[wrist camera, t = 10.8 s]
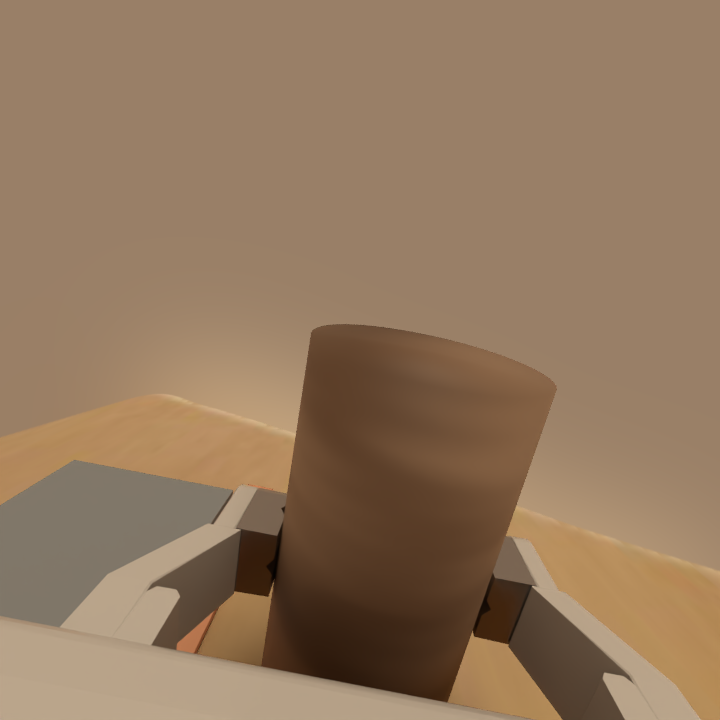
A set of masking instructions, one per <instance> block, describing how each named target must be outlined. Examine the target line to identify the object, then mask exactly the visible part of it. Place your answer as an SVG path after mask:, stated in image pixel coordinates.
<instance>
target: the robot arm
mask: <svg viewBox="0 0 720 720" xmlns="http://www.w3.org/2000/svg"><path fill="white" fill-rule="evenodd" d="M286 498H287V494H286V493H281V492H277V491H272V490H267V489H263V488H257V487H252V486H248V485H243V484H242V485H240V486H239V487H238V488H237V489H236V491H235V492H234V494H233V495H232V497H231V498H230V500H229V501H228V503H227V505H226V506H225V508H224V509H223V511H222V512H221V514H220V515H219V517H218V518H217V520H216V521H215V523H214V524H209V523H208V524H206V525H204V526H202V527H200V528H198V529H196V530H194V531H192V532H190V533H188V534H186V535H184V536H182V537H180V538H178V539H176V540H174V541H172V542H170V543H168V544H166V545H164V546H162V547H160V548H158V549H156V550H154V551H152V552H150V553H148V554H146V555H144V556H142V557H140V558H139V559H137V560H135V561H133V562H131V563H129V564H127V565H125V566H123V567H121V568H119V569H117V570H115V571H113V572H111V573H109V574H107V575H106V576H105V578H104V579H103V580H102V581H101V582H100V583H99V584H98V585H97V586H96V587H95V589H94V590H93V591H92V592H91V593H90V594H89V595H88V596H87V597H86V598H85V600H84V601H83V602H82V603H81V604H80V605H79V606H78V607H77V608H76V610H75V611H74V612H73V613H72V614H71V615H70V616H69V617H68V618H67V619H66V621H65V622H64V623H63V624H62V625H61V626H60V627H55V626H50V625H45V624H40V623H35V622H30V621H24V620H19V619H14V618H9V617H4V616H0V720H535V719H530V718H525V717H519V716H514V715H509V714H504V713H499V712H494V711H489V710H483V709H478V708H473V707H468V706H463V705H458V704H452V703H447V702H442V701H437V700H432V699H427V698H422V697H416V696H411V695H406V694H401V693H396V692H391V691H385V690H380V689H375V688H370V687H365V686H360V685H355V684H349V683H344V682H339V681H334V680H329V679H324V678H318V677H313V676H308V675H303V674H298V673H293V672H287V671H282V670H277V669H272V668H267V667H262V666H257V665H251V664H246V663H241V662H236V661H231V660H226V659H220V658H215V657H210V656H205V655H200V654H195V653H189V652H184V651H179V650H177V643H178V642H179V641H180V640H182V639H183V638H184V637H185V636H186V635H187V634H188V633H190V632H191V631H192V630H193V629H194V628H195V627H196V626H197V625H199V624H200V623H201V622H202V621H203V620H204V619H205V618H207V617H208V616H209V615H210V614H211V613H212V612H213V611H215V610H216V609H217V608H218V607H219V606H220V605H221V604H223V603H224V602H225V601H226V600H227V599H228V598H229V597H230V596H232V595H233V594H234V591H235V592H242V593H248V594H254V595H260V596H267V597H268V596H269V593H270V590H271V587H272V584H273V582H274V579H275V573H276V566H277V559H278V552H279V545H280V539H281V533H282V526H283V518H284V512H285V505H286ZM473 634H474V637H478V638H482V639H487V640H491V641H496V642H500V643H505V644H509V646H508V647H509V648H510V649H511V651H512V652H513V653H514V655H515V656H516V657H517V659H518V660H519V661H520V663H521V664H522V665H523V667H524V668H525V669H526V671H527V672H528V673H529V675H530V676H531V677H532V679H533V680H534V681H535V683H536V684H537V685H538V687H539V688H540V690H541V691H542V692H543V694H544V695H545V696H546V698H547V699H548V700H549V702H550V703H551V704H552V706H553V707H554V708H555V710H556V711H557V712H558V714H559V715H560V716H561V718H562V719H563V720H701V719H700V718H699V717H698V715H697V714H696V712H695V711H694V710H693V708H692V707H691V706H690V704H689V703H688V701H687V700H686V699H685V697H684V696H683V695H682V693H681V692H680V690H679V689H678V688H677V686H676V685H675V684H674V683H673V682H671V681H670V680H669V679H668V678H667V677H666V676H664V675H663V674H662V673H661V672H660V671H658V670H657V669H656V668H655V667H654V666H652V665H651V664H650V663H649V662H648V661H646V660H645V659H644V658H643V657H642V656H641V655H639V654H638V653H637V652H636V651H635V650H633V649H632V648H631V647H630V646H629V645H627V644H626V643H625V642H624V641H623V640H621V639H620V638H619V637H618V636H617V635H615V634H614V633H613V632H612V631H611V630H610V629H608V628H607V627H606V626H605V625H604V624H602V623H601V622H600V621H599V620H598V619H596V618H595V617H594V616H593V615H592V614H590V613H589V612H588V611H587V610H586V609H584V608H583V607H582V606H581V605H580V604H579V603H577V602H576V601H575V600H574V599H573V598H571V597H570V596H569V595H568V594H567V593H565V592H561V591H559V590H558V588H557V586H556V585H555V583H554V581H553V580H552V578H551V576H550V574H549V573H548V571H547V569H546V567H545V566H544V564H543V562H542V561H541V559H540V557H539V555H538V554H537V552H536V550H535V548H534V547H533V545H532V543H531V542H530V541H529V540H527V539H524V538H517V537H511V536H508V537H507V536H505V539H504V542H503V545H502V547H501V550H500V553H499V556H498V559H497V562H496V565H495V567H494V570H493V573H492V576H491V579H490V582H489V585H488V587H487V590H486V593H485V596H484V599H483V602H482V605H481V607H480V610H479V613H478V616H477V619H476V622H475V625H474V627H473Z"/></svg>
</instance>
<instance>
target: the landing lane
mask: <svg viewBox="0 0 720 720" xmlns="http://www.w3.org/2000/svg"><path fill="white" fill-rule="evenodd" d="M248 486H252V487H257V488H263V489H267V490H272V491H273V489H270V488H265V487H260V486H255V485H249V484H248ZM232 495H233V490H229V489H224V488H219V487H213V486H208V485H203V484H198V483H193V482H187V481H182V480H177V479H172V478H166V477H161V476H156V475H151V474H145V473H140V472H135V471H130V470H125V469H119V468H114V467H109V466H104V465H98V464H93V463H88V462H83V461H77V460H73V461H72V462H70V463H68V464H67V465H65V466H64V467H62V468H60V469H59V470H57V471H55V472H54V473H52V474H50V475H49V476H47V477H46V478H44V479H42V480H41V481H39V482H37V483H36V484H34V485H33V486H31V487H29V488H28V489H26V490H24V491H23V492H21V493H19V494H18V495H16V496H15V497H13V498H11V499H10V500H8V501H6V502H5V503H3V504H1V505H0V616H4V617H9V618H14V619H19V620H24V621H30V622H35V623H40V624H45V625H50V626H55V627H60V626H61V625H62V624H63V623H64V622H65V621H66V619H67V618H68V617H69V616H70V615H71V614H72V613H73V612H74V611H75V610H76V608H77V607H78V606H79V605H80V604H81V603H82V602H83V601H84V600H85V598H86V597H87V596H88V595H89V594H90V593H91V592H92V591H93V590H94V589H95V587H96V586H97V585H98V584H99V583H100V582H101V581H102V580H103V579H104V578H105V576H106V575H107V574H109V573H111V572H113V571H115V570H117V569H119V568H121V567H123V566H125V565H127V564H129V563H131V562H133V561H135V560H137V559H139V558H140V557H142V556H144V555H146V554H148V553H150V552H152V551H154V550H156V549H158V548H160V547H162V546H164V545H166V544H168V543H170V542H172V541H174V540H176V539H178V538H180V537H182V536H184V535H186V534H188V533H190V532H192V531H194V530H196V529H198V528H200V527H202V526H204V525H206V524H208V523H209V524H214V523H215V521H216V520H217V518H218V517H219V515H220V514H221V512H222V511H223V509H224V508H225V506H226V505H227V503H228V501H229V500H230V498H231V497H232ZM217 609H218V608H217ZM217 609H216V610H215V611H213V612H212V613H211V614H210V615H209V616H208V617H207V618H205V619H204V620H203V621H202V622H201V623H200V624H199V625H197V626H196V627H195V628H194V629H193V630H192V631H191V632H190V633H188V634H187V635H186V636H185V637H184V638H183V639H182V640H180V641H179V642H178V643H177V650H179V651H184V652H189V653H195V654H196V653H197V651H198V649H199V647H200V644H201V642H202V640H203V638H204V636H205V634H206V632H207V630H208V628H209V626H210V624H211V621H212V619H213V617H214V615H215V613H216V611H217Z"/></svg>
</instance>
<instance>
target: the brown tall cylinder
mask: <svg viewBox="0 0 720 720" xmlns="http://www.w3.org/2000/svg"><path fill="white" fill-rule="evenodd" d="M556 390H557V389H556V385H555V384H554V382H553V381H551V380H550V379H549V378H548V377H546V376H545V375H544V374H542V373H540V372H538V371H537V370H535V369H533V368H531V367H528V366H526V365H524V364H522V363H519V362H517V361H515V360H512V359H509V358H507V357H504V356H501V355H498V354H495V353H493V352H489V351H486V350H483V349H480V348H477V347H473V346H470V345H466V344H463V343H459V342H455V341H451V340H447V339H443V338H439V337H434V336H429V335H425V334H419V333H415V332H409V331H404V330H397V329H391V328H384V327H376V326H366V325H349V324H341V325H340V324H339V325H338V324H337V325H326V326H321V327H318V328H316V329H314V330H313V331H312V333H311V338H310V345H309V351H308V358H307V365H306V371H305V378H304V385H303V392H302V398H301V405H300V412H299V418H298V425H297V431H296V438H295V445H294V452H293V458H292V465H291V472H290V478H289V485H288V492H287V498H286V505H285V512H284V518H283V526H282V533H281V539H280V545H279V552H278V559H277V566H276V573H275V579H274V585H273V592H272V599H271V605H270V612H269V619H268V626H267V632H266V639H265V646H264V652H263V659H262V667H267V668H272V669H277V670H282V671H287V672H293V673H298V674H303V675H308V676H313V677H318V678H324V679H329V680H334V681H339V682H344V683H349V684H355V685H360V686H365V687H370V688H375V689H380V690H385V691H391V692H396V693H401V694H406V695H411V696H416V697H422V698H427V699H432V700H437V701H442V702H448V699H449V696H450V693H451V690H452V688H453V685H454V682H455V679H456V676H457V673H458V670H459V668H460V665H461V662H462V659H463V656H464V653H465V650H466V647H467V645H468V642H469V639H470V636H471V633H472V630H473V627H474V625H475V622H476V619H477V616H478V613H479V610H480V607H481V605H482V602H483V599H484V596H485V593H486V590H487V587H488V585H489V582H490V579H491V576H492V573H493V570H494V567H495V565H496V562H497V559H498V556H499V553H500V550H501V547H502V545H503V542H504V539H505V536H506V533H507V530H508V527H509V525H510V522H511V519H512V516H513V513H514V510H515V507H516V505H517V502H518V499H519V496H520V493H521V490H522V487H523V485H524V482H525V479H526V476H527V473H528V470H529V467H530V464H531V462H532V459H533V456H534V453H535V450H536V447H537V444H538V441H539V439H540V436H541V433H542V430H543V427H544V424H545V422H546V419H547V416H548V413H549V410H550V407H551V404H552V402H553V398H554V396H555V393H556Z"/></svg>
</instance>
